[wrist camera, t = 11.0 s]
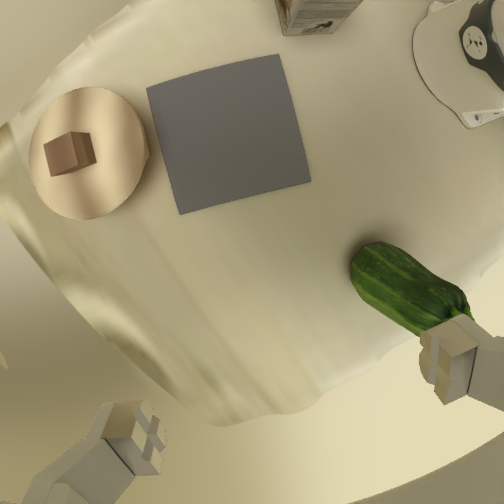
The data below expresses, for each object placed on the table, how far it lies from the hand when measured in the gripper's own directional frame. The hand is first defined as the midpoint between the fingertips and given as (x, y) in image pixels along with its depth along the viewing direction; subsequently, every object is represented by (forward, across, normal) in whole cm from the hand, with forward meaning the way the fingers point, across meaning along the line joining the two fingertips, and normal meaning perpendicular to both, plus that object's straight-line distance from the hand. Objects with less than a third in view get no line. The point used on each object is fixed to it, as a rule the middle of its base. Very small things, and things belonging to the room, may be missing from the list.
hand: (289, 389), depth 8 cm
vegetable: (+29, -13, +10) cm, 34 cm away
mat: (+29, 0, -9) cm, 30 cm away
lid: (+23, +14, -11) cm, 29 cm away
